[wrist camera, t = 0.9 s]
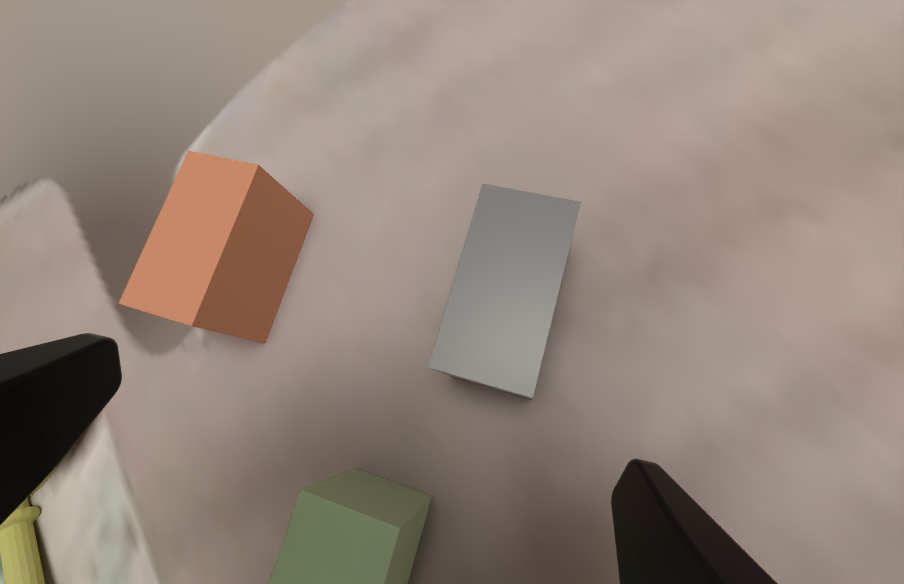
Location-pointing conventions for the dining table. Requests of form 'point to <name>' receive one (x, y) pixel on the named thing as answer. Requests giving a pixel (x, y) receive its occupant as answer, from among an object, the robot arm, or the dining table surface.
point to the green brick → (352, 532)
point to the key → (21, 545)
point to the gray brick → (505, 290)
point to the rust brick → (220, 249)
